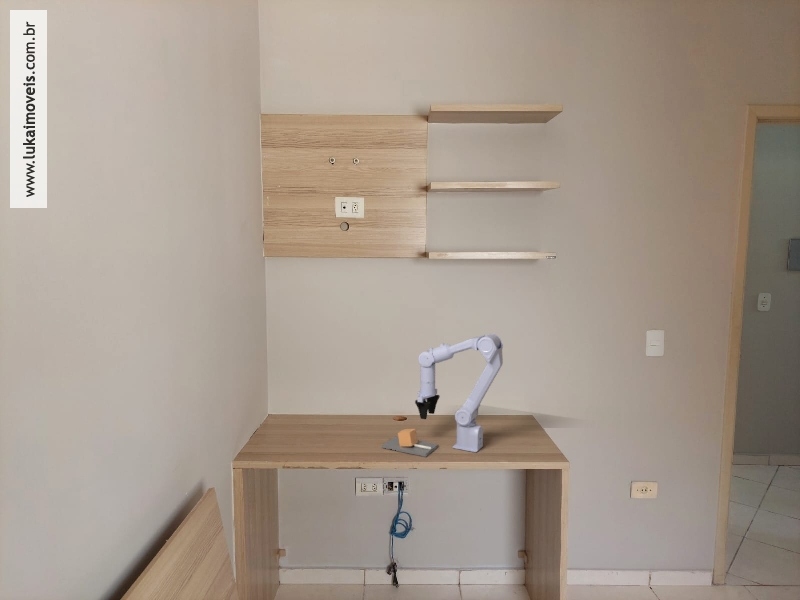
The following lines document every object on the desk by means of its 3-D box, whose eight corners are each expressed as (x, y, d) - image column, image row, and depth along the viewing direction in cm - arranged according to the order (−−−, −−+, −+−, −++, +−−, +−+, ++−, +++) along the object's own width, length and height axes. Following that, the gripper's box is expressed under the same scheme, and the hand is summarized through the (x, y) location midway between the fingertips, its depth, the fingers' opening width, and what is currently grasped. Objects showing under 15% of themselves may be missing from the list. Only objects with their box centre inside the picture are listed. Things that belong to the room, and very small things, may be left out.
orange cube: (417, 441, 192) (415, 428, 193) (411, 446, 188) (409, 432, 188) (406, 442, 195) (403, 429, 195) (399, 446, 190) (397, 433, 190)
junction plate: (438, 446, 193) (438, 436, 193) (425, 456, 183) (426, 445, 183) (395, 438, 201) (395, 428, 201) (381, 447, 192) (381, 437, 191)
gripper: (425, 376, 207) (425, 409, 208) (410, 384, 194) (410, 419, 195) (442, 378, 204) (441, 412, 205) (427, 386, 191) (427, 422, 192)
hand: (427, 416), depth 200 cm, fingers open, 7 cm apart
